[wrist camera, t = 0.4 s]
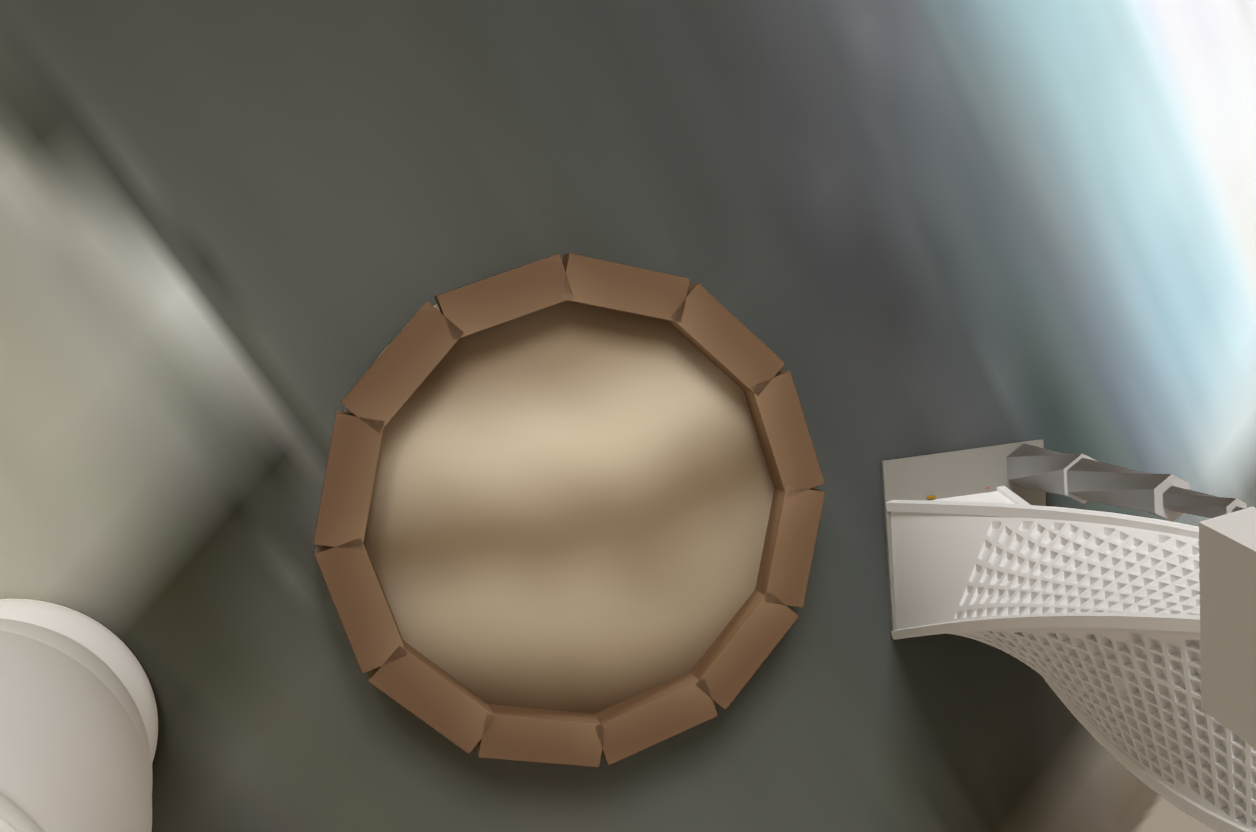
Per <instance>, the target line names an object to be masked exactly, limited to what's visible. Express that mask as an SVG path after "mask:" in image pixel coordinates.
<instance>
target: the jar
mask: <svg viewBox="0 0 1256 832" xmlns="http://www.w3.org/2000/svg"><path fill="white" fill-rule="evenodd" d="M157 739H158V713H157V706H156V701H155V697H154V694H153V690H152V687H151V685H150V682H149V680H148V677H147V675H146V673H145V671H144V670H143V668H142V666H141V664H140V663H139V661H138V660H137V658H136V657H135V656H134V654H133V653H132V652H131V651H130V649H129V648H128V647H127V646H126V645H125V644H124V643H123V642H122V641H121V640H120V639H119V638H118V637H117V636H116V635H115V634H113V633H112V632H111V631H110V630H108V629H107V628H106V627H104V626H103V625H102V624H100V623H99V622H97V621H95V620H93V619H92V618H90V617H88V616H86V615H84V614H82V613H80V612H78V611H75V610H73V609H70V608H67V607H64V606H61V605H57V604H54V603H50V602H45V601H38V600H30V599H0V832H152V784H153V774H152V763H153V759H154V756H155V751H156V746H157Z"/></svg>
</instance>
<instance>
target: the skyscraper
mask: <svg viewBox="0 0 1256 832" xmlns="http://www.w3.org/2000/svg"><path fill="white" fill-rule="evenodd" d="M881 471H882V488H883V504H884V520H885V536H886V552H887V568H888V584H889V600H890V616H891V635H892V639H894V640H895V639H903V638H911V637H919V636H927V635H936V634H945V633H946V634H953V635H959V636H963V637H967V638H971V639H974V640H977V641H980V642H983V643H986V644H988V645H991V646H993V647H995V648H998V649H1000V650H1002V651H1004V652H1006V653H1008V654H1010V655H1011V656H1013V657H1015V658H1017V659H1018V660H1020V661H1021V662H1023V663H1025V664H1026V665H1028V666H1029V667H1031V668H1032V669H1033V670H1035V671H1036V672H1037V673H1039V674H1040V675H1041V676H1042V677H1043V678H1044V680H1045V681H1046V682H1047V684H1048V685H1049V686H1050V688H1051V689H1052V690H1053V691H1054V692H1055V694H1056V695H1057V696H1058V697H1059V698H1060V700H1061V701H1062V702H1063V703H1064V705H1065V706H1066V707H1067V708H1068V709H1069V711H1070V712H1071V713H1072V714H1073V715H1074V716H1075V718H1076V719H1077V720H1078V721H1079V722H1080V723H1081V724H1082V725H1083V726H1084V727H1085V728H1086V729H1087V731H1088V732H1089V733H1090V734H1091V735H1092V736H1093V737H1094V738H1095V739H1096V740H1097V741H1098V742H1099V743H1100V744H1101V745H1102V746H1103V747H1104V748H1105V749H1106V750H1107V751H1108V752H1109V753H1110V754H1111V755H1112V756H1113V757H1114V758H1116V759H1117V760H1118V761H1119V762H1120V763H1121V764H1122V765H1123V766H1124V767H1125V768H1127V769H1128V770H1129V771H1130V772H1131V773H1133V774H1134V775H1135V776H1136V777H1137V778H1139V779H1140V780H1141V781H1142V782H1143V783H1145V784H1146V785H1147V786H1148V787H1149V788H1151V789H1152V790H1153V791H1155V792H1156V793H1158V794H1159V795H1160V796H1162V797H1163V798H1165V799H1166V800H1168V801H1169V802H1171V803H1172V804H1173V805H1175V806H1176V807H1177V808H1179V809H1180V810H1182V811H1183V812H1185V813H1187V814H1189V815H1190V816H1192V817H1193V818H1195V819H1197V820H1198V821H1200V822H1202V823H1204V824H1205V825H1207V826H1209V827H1210V828H1212V829H1213V830H1215V831H1217V832H1256V749H1254V748H1253V747H1252V746H1250V745H1249V744H1248V743H1246V742H1245V741H1243V740H1242V739H1241V738H1239V737H1238V736H1237V735H1235V734H1234V733H1233V732H1231V731H1230V730H1229V729H1227V728H1226V727H1225V726H1223V725H1222V724H1221V723H1219V722H1218V721H1216V720H1215V719H1214V718H1212V717H1211V716H1210V715H1208V714H1207V713H1206V712H1204V711H1203V710H1202V709H1201V651H1200V575H1199V527H1197V526H1192V525H1187V524H1182V523H1177V522H1174V521H1175V520H1176V519H1177V518H1178V517H1179V516H1181V515H1182V514H1183V513H1187V514H1192V515H1198V516H1203V517H1209V518H1215V517H1218V516H1221V515H1225V514H1228V513H1232V512H1235V511H1239V510H1242V509H1246V508H1247V505H1246V503H1244V502H1242V501H1240V500H1238V499H1235V498H1221V497H1216V496H1212V495H1208V494H1204V493H1200V492H1196V491H1192V490H1190V484H1189V483H1187V482H1185V481H1183V480H1181V479H1179V478H1178V477H1176V476H1174V475H1172V474H1148V473H1144V472H1140V471H1136V470H1131V469H1127V468H1123V467H1119V466H1115V465H1111V464H1107V463H1103V462H1099V461H1096V460H1094V459H1092V458H1090V457H1088V456H1086V455H1084V454H1064V453H1060V452H1056V451H1052V450H1048V449H1045V448H1043V440H1033V441H1026V442H1018V443H1011V444H1004V445H996V446H989V447H982V448H974V449H967V450H960V451H952V452H945V453H937V454H930V455H923V456H915V457H908V458H901V459H893V460H886V461H881ZM1045 492H1050V493H1056V494H1061V495H1065V496H1067V497H1070V498H1073V499H1075V500H1077V501H1079V502H1081V503H1083V504H1085V503H1086V502H1088V501H1092V502H1097V503H1103V504H1108V505H1114V506H1119V507H1125V508H1130V509H1136V510H1140V511H1145V512H1148V513H1152V514H1155V515H1158V516H1160V517H1163V518H1165V519H1167V520H1170V521H1165V520H1159V519H1152V518H1145V517H1138V516H1131V515H1125V514H1118V513H1110V512H1101V511H1091V510H1082V509H1072V508H1063V507H1051V506H1046V493H1045ZM1171 521H1172V522H1171Z"/></svg>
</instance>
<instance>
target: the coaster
mask: <svg viewBox="0 0 1256 832" xmlns="http://www.w3.org/2000/svg"><path fill="white" fill-rule="evenodd" d="M689 280H690V279H689V278H685V277H680V276H675V275H670V274H666V273H661V272H656V271H652V270H647V269H642V268H637V267H633V266H628V265H623V264H618V263H614V262H609V261H604V260H600V259H595V258H590V257H585V256H581V255H576V254H571V253H569V254H565V255H564V256H563V261H562V260H561V257H560V254H557V255H554V256H551V257H548V258H545V259H542V260H539V261H536V262H533V263H530V264H527V265H525V266H522V267H519V268H516V269H513V270H510V271H507V272H504V273H501V274H498V275H495V276H492V277H489V278H487V279H484V280H481V281H478V282H475V283H472V284H469V285H466V286H463V287H460V288H457V289H455V290H452V291H449V292H446V293H443V294H440V295H437V296H434V297H435V299H436V302H437V304H435V305H433V306H432V305H431V304H430V303H429V302H426V303H425V304H424V305H423V306H422V307H421V308H420V310H419V311H418V312H417V313H416V314H415V315H414V317H413V318H412V319H411V320H410V321H409V322H408V324H407V325H406V326H405V327H404V328H403V329H402V331H401V332H400V333H399V334H398V335H397V336H396V337H395V338H394V339H393V340H392V341H391V342H390V343H389V344H388V345H387V346H386V348H385V349H384V350H383V351H382V352H381V353H380V355H379V356H378V357H377V359H376V360H375V361H374V363H373V364H372V365H371V367H370V368H369V369H368V370H367V371H366V373H365V374H364V375H363V376H362V377H361V378H360V380H359V381H358V382H357V383H356V384H355V385H354V387H353V388H352V389H351V390H350V391H349V392H348V394H347V395H346V396H345V397H344V398H343V399H342V401H341V404H342V405H344V406H345V407H346V408H345V411H344V412H341V411H336V416H335V422H334V428H333V434H332V440H331V445H330V451H329V457H328V463H327V468H326V474H325V480H324V486H323V492H322V497H321V503H320V509H319V515H318V521H317V526H316V532H315V538H314V544H316V545H323V546H320V547H318V548H316V549H315V557H316V559H317V562H318V564H319V567H320V569H321V572H322V574H323V577H324V579H325V582H326V584H327V587H328V589H329V592H330V594H331V596H332V599H333V601H334V604H335V606H336V609H337V611H338V614H339V616H340V619H341V621H342V624H343V626H344V629H345V631H346V634H347V636H348V639H349V641H350V644H351V646H352V649H353V651H354V654H355V656H356V659H357V661H358V664H359V666H360V668H361V671H362V673H365V672H368V671H369V672H368V675H369V682H370V683H371V684H373V685H374V686H375V687H377V688H378V689H380V690H381V691H382V692H384V693H385V694H387V695H388V696H389V697H391V698H392V699H394V700H395V701H396V702H398V703H399V704H400V705H402V706H403V707H405V708H406V709H407V710H409V711H410V712H412V713H413V714H414V715H416V716H417V717H418V718H420V719H421V720H423V721H424V722H425V723H427V724H428V725H430V726H431V727H432V728H434V729H435V730H436V731H438V732H439V733H441V734H442V735H443V736H445V737H446V738H448V739H449V740H450V741H452V742H453V743H454V744H456V745H457V746H459V747H460V748H461V749H463V750H464V751H466V752H467V753H468V754H469V753H470V752H471V751H472V750H473V748H474V747H475V748H476V751H477V755H478V757H480V758H492V759H504V760H517V761H529V762H541V763H553V764H566V765H578V766H590V767H599V764H600V759H601V754H602V755H603V757H604V758H605V760H606V762H607V764H608V765H611V764H613V763H615V762H617V761H620V760H622V759H624V758H626V757H628V756H631V755H633V754H635V753H637V752H639V751H642V750H644V749H646V748H648V747H650V746H653V745H655V744H657V743H659V742H661V741H664V740H666V739H668V738H670V737H672V736H675V735H677V734H679V733H681V732H683V731H686V730H688V729H690V728H692V727H694V726H697V725H699V724H701V723H703V722H705V721H708V720H710V719H712V718H714V717H716V716H718V715H717V712H716V709H715V706H714V703H713V700H714V701H715V702H716V703H718V704H719V705H720V706H721V707H723V708H724V709H725V710H726V709H727V707H728V706H729V705H730V704H731V702H732V701H733V700H734V698H735V697H736V696H737V695H738V693H739V692H740V691H741V689H742V688H743V687H744V686H745V684H746V683H747V682H748V681H749V679H750V678H751V677H752V675H753V674H754V673H755V672H756V670H757V669H758V668H759V667H760V665H761V664H762V663H763V661H764V660H765V659H766V658H767V656H768V655H769V654H770V653H771V651H772V650H773V649H774V647H775V646H776V645H777V644H778V642H779V641H780V640H781V638H782V637H783V636H784V635H785V633H786V632H787V631H788V630H789V628H790V627H791V626H792V624H793V623H794V622H795V621H796V619H797V618H798V617H799V616H798V615H797V614H796V613H795V612H793V611H792V610H791V609H790V608H789V607H787V606H786V605H788V606H796V607H803V605H804V599H805V594H806V589H807V584H808V579H809V574H810V568H811V563H812V558H813V553H814V548H815V542H816V537H817V532H818V527H819V522H820V516H821V511H822V506H823V501H824V496H825V492H823V491H821V490H818V489H815V488H813V487H815V486H818V485H820V484H823V483H825V482H824V479H823V476H822V472H821V469H820V466H819V463H818V460H817V456H816V453H815V450H814V447H813V444H812V440H811V437H810V434H809V431H808V428H807V424H806V421H805V418H804V415H803V411H802V408H801V405H800V402H799V399H798V395H797V392H796V389H795V386H794V383H793V379H792V376H791V373H790V371H782V370H780V369H781V368H782V366H783V365H784V364H785V363H784V362H783V361H782V360H781V359H780V358H779V357H778V356H777V355H775V354H774V353H773V352H772V351H771V350H770V349H769V348H768V347H767V346H766V345H765V344H764V343H763V342H761V341H760V340H759V339H758V338H757V337H756V336H755V335H754V334H753V333H752V332H751V331H750V330H748V329H747V328H746V327H745V326H744V325H743V324H742V323H741V322H740V321H739V320H738V319H737V318H736V317H734V316H733V315H732V314H731V313H730V312H729V311H728V310H727V309H726V308H725V307H724V306H723V305H722V304H720V303H719V302H718V301H717V300H716V299H715V298H714V297H713V296H712V295H711V294H710V293H709V292H708V291H706V290H705V289H704V288H703V287H702V286H701V285H700V284H699V283H695V284H689ZM712 699H713V700H712Z"/></svg>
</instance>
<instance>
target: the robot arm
mask: <svg viewBox="0 0 1256 832" xmlns="http://www.w3.org/2000/svg"><path fill="white" fill-rule="evenodd" d="M1199 575H1200V651H1201V709H1202V710H1203V711H1204V712H1206V713H1207V714H1208V715H1210V716H1211V717H1212V718H1214V719H1215V720H1216V721H1218V722H1219V723H1221V724H1222V725H1223V726H1225V727H1226V728H1227V729H1229V730H1230V731H1231V732H1233V733H1234V734H1235V735H1237V736H1238V737H1239V738H1241V739H1242V740H1243V741H1245V742H1246V743H1248V744H1249V745H1250V746H1252V747H1253V748H1254V749H1256V508H1254V507H1249V508H1246V509H1242V510H1239V511H1235V512H1232V513H1228V514H1225V515H1221V516H1218V517H1215V518H1211V519H1208V520H1204V521H1201V522H1199Z"/></svg>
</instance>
